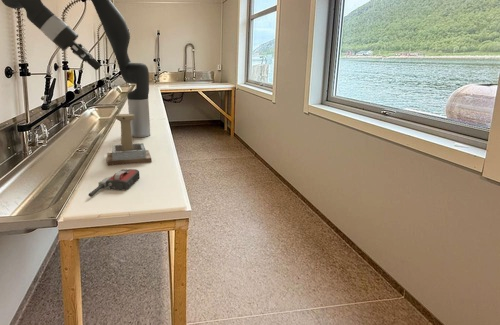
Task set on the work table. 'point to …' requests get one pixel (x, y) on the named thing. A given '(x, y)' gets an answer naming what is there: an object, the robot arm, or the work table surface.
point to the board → (132, 161)
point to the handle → (126, 131)
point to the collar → (128, 152)
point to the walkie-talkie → (118, 181)
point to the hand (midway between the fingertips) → (99, 67)
